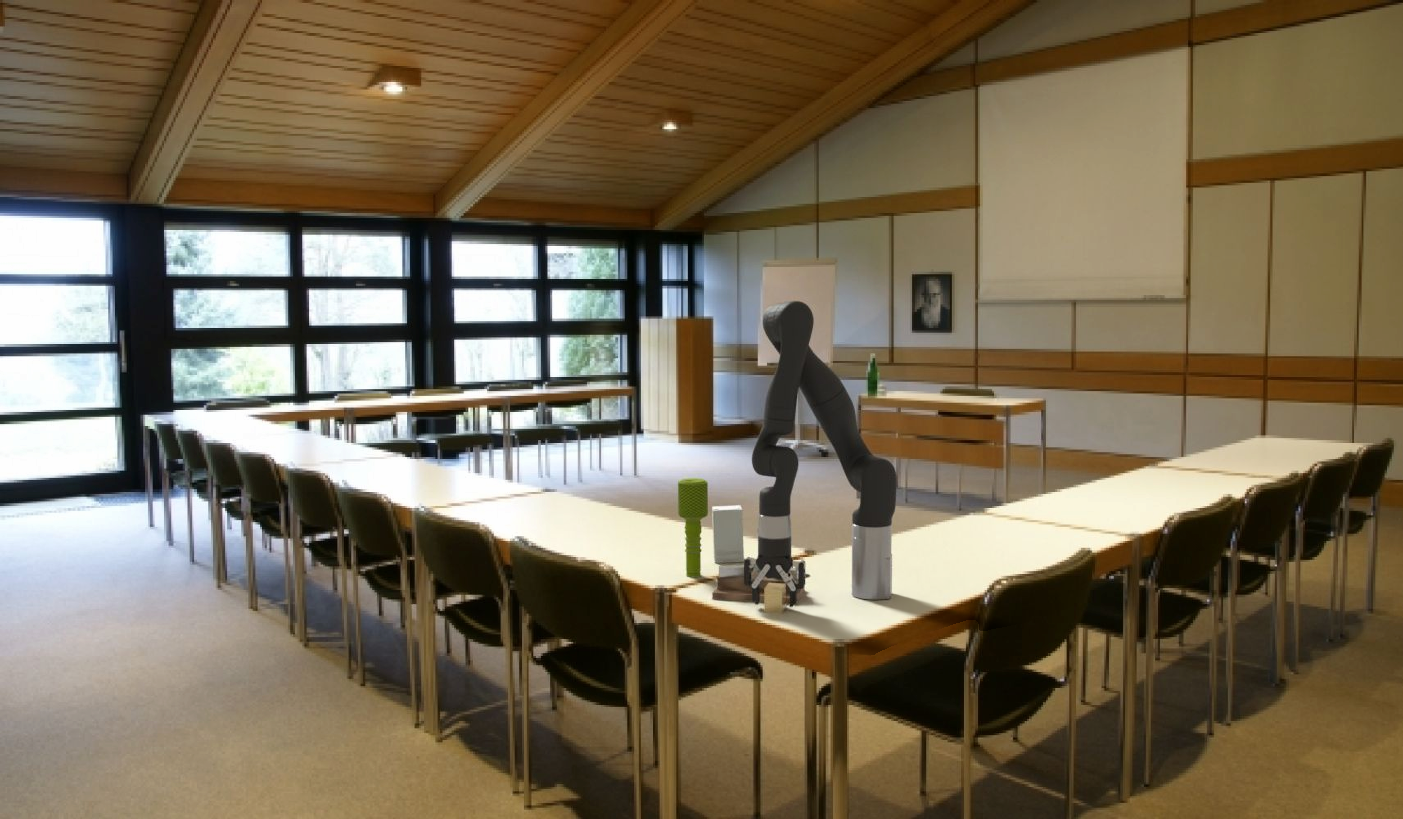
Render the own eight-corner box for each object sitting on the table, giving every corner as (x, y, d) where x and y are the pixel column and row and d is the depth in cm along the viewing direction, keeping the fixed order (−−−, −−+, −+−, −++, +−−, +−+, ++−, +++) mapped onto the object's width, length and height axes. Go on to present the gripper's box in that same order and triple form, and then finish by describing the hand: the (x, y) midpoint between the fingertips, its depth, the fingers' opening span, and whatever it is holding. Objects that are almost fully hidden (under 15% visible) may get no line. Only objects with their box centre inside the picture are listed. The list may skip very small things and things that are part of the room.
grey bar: (798, 577, 240) (798, 568, 240) (795, 582, 236) (795, 572, 236) (720, 572, 245) (720, 563, 244) (716, 577, 241) (716, 568, 240)
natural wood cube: (768, 606, 232) (768, 582, 232) (785, 607, 231) (785, 583, 231) (764, 612, 228) (764, 588, 227) (781, 613, 227) (781, 589, 226)
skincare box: (742, 557, 278) (742, 504, 277) (744, 563, 272) (744, 508, 271) (712, 558, 278) (711, 505, 277) (713, 563, 272) (712, 509, 271)
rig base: (804, 590, 245) (804, 572, 244) (796, 604, 233) (796, 585, 233) (724, 585, 250) (724, 567, 250) (712, 598, 238) (712, 580, 238)
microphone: (702, 580, 255) (701, 482, 253) (674, 577, 258) (673, 480, 255) (712, 572, 263) (712, 477, 260) (685, 570, 265) (684, 475, 263)
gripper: (808, 532, 230) (808, 602, 231) (747, 528, 233) (747, 598, 235) (803, 539, 222) (803, 612, 224) (740, 535, 226) (739, 607, 228)
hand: (774, 604), depth 229 cm, fingers open, 7 cm apart
